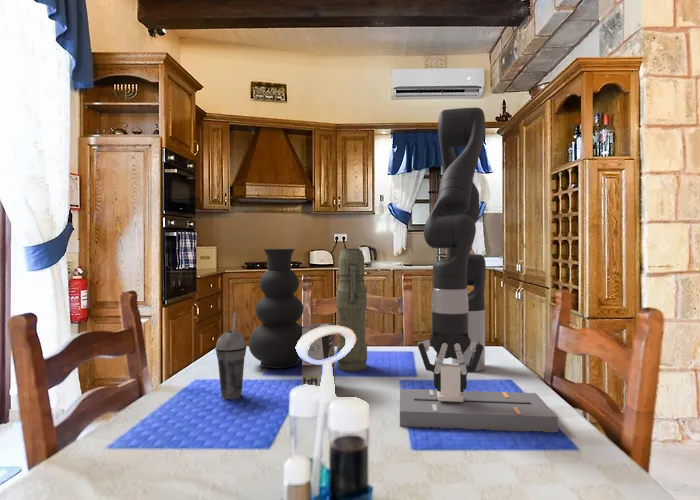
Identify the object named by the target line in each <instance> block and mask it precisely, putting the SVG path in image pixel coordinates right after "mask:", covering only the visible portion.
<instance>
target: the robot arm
mask: <svg viewBox="0 0 700 500" xmlns="http://www.w3.org/2000/svg"><path fill="white" fill-rule="evenodd" d="M437 120H438V121H437V131H438V141H439V148H440V157H441V163H442V164H441V165H442V166H441V168H442V176H441V180H440V182H439V183H440V184H439V189H438V194H437V200H436V202H435V204H434V206H433V207H432V210H431V211H430V213H429V215H428V216H427V220H426V221H425V224H424V228H423V237H424V241H425V242H426V244H427V246H428V247H431V248H432V249H446V258H445V259H439V260H436V261H435V262H433V265H432V295H431V333H430V337H429V339H427V340H424V341H422V340H421V341H418V342H417V348H418V351H419V354H420V357H421V360H422V362H423V364H424V365H423V366H424V368H425V371H428V372H431V373H433V387H434V390H437V391H438V392H441V374H440V370H441V366H442V364H443V363H444V360H445V359H451V360H452V361H451V362H452V363H451V364H459V367H460V392H463V391H467V390H466V389H467V388H468V383H467V380H468V379H467V375H468V374H469V373H474V372H481V371H484V370H485V369H486V356H485V355H486V318H485V317H486V308H485V307H486V305H485V304H486V303H485V302H486V301H485V300H486V299H485V297H486V296H485V294H486V293H485V287H486V270H487V267H486V259H485V257H484V255H482V254H478V253H476V254H475V253H473V254H472V253H471V250H472V247H473V244H474V241H475V239H476V238H475V237H476V233H477V227H476V226H477V225H476V223H477V222H478V220H479V217H480V192H479V190H478V188H477V186H476V184H475V183H474V177H475V176H474V175H475V171H476V169H477V165H478V162H479V158H480V155H481V151H482V148H483V143H484V139H485V133H486V117H485V112H484V110H483V109H481V108H480V107H460V108H459V107H457V108H450V109H444V110H442V111H441V112H440V113H439V115H438V119H437ZM463 147H464V149H463V150H462V151H461V153H460V154H459V155H458V156H457V154H456V151H455V148H463ZM468 286H472V287H473V289H472V290H471V291H470V292H468V288H467V287H468ZM430 346H431V347H432V348H433V350H434V351H435V353H436V356H435V359H434V364H433V363H431V361H430V359H429V357H428V353H427V352H429V350H430Z"/></svg>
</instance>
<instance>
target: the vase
mask: <svg viewBox="0 0 700 500" xmlns="http://www.w3.org/2000/svg"><path fill="white" fill-rule="evenodd" d="M263 250H264V253H265V255H266V260H267V262H266V263H267V270H265V271H264V273H263V274H262V275H261V277H260V279H259V288H260V291H261V292H262V293H263V294H264V295H263V296H262V297H261V298H260V300H259V301H258V302H257V304H256V305H255V311H254V312H255V315H256V317H257V320H258V321H260V322H261V324H260V325H258V326H257V327H256V328H255V329H254V330H252V332H251V334H249V335H250V336H249V338H248V349H249V351H250V353H251V355H252V356H253V357H254V358H255V359H256V360H257V361H260V365H261V366H262V367H265V368H269V369H286V368H291V367H294V366H296V365H298V364H299V362H300V359H301V360H302V358H300V357H299V356H298V354H297V352H296V349H295V346H296V344H297V341H298V340H299V339H300V337H301V336H302V328H304V327H305V326H304V327H303V326H302V325H301V324H299V323H298V321H299V320H300V319H301V318H302V317H303V315H304V314H303V313H304V304H303V302H302V301H301V300H300V299H299V298H298V297H297V296H296V295H295V293H297V291H298V289H299V286H300V279H299V277H298V275H297V274H296V273H295V271H294V270H292V256H293V253H294V251H295V248H264V249H263Z"/></svg>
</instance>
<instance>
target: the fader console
mask: <svg viewBox="0 0 700 500" xmlns="http://www.w3.org/2000/svg"><path fill="white" fill-rule="evenodd" d="M462 395H463V402H454V401H439V400H438V396H437V389H412V388H409V389H408V388H399V427H407V428H409V427H410V428H412V427H413V428H429V427H432V429H436V428H437V429H454V428H463V429H462V430H479V429H487V431H505V430H506V431H507V432H510V431H511V432H530V431H538V432H537V433H540V432H539V431H543V432H542V433H555V432H559V428H558V427H559V425H558V423H559V419H558V418H559V417H558V415H557V414H556V413H555V412H554V411H553V410H552V409H551V408H550V407H549V406H548V405H547V403H546V402H545V401H544V400H543V399H542V398H541V397H540V396H539V395H538V394H537V393H536V392H517V391H516V392H515V391H514V392H513V391H511V392H510V391H481V390H479V391H478V390H477V391H475V390H464V391H463V392H462ZM433 427H434V428H433ZM438 427H440V428H438ZM464 428H465V429H464ZM488 429H489V430H488Z"/></svg>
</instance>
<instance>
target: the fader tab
mask: <svg viewBox="0 0 700 500" xmlns="http://www.w3.org/2000/svg"><path fill="white" fill-rule="evenodd" d="M440 374H441V392H438V391H437V396H438V400H439V401H454V402H463V395H462V392H460V367H459V364H452V363H445V362H443V364H442V366H441V370H440Z"/></svg>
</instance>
